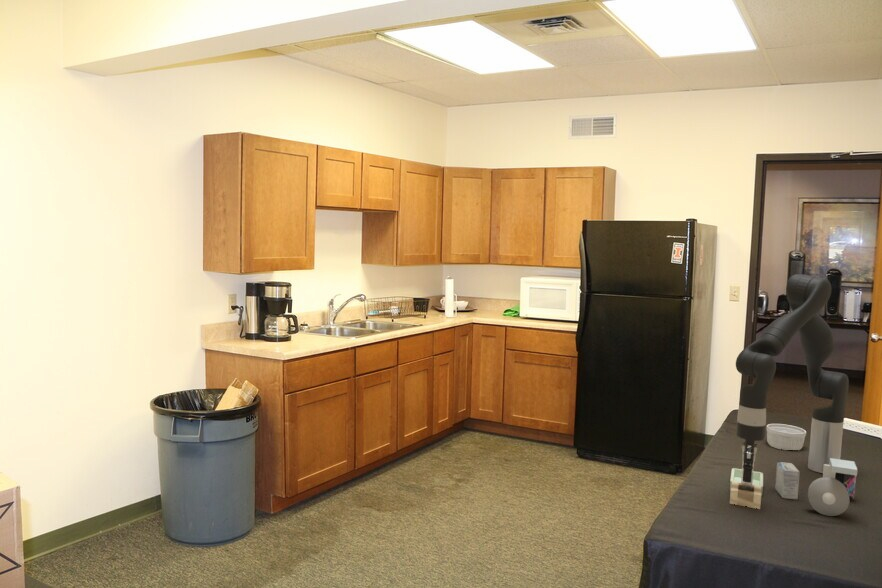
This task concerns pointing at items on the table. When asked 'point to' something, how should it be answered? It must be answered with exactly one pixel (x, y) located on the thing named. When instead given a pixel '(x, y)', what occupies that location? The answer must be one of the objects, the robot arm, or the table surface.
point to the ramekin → (785, 436)
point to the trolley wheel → (831, 488)
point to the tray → (737, 475)
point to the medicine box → (787, 480)
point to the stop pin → (746, 485)
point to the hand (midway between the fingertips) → (746, 479)
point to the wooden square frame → (745, 496)
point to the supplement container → (847, 483)
